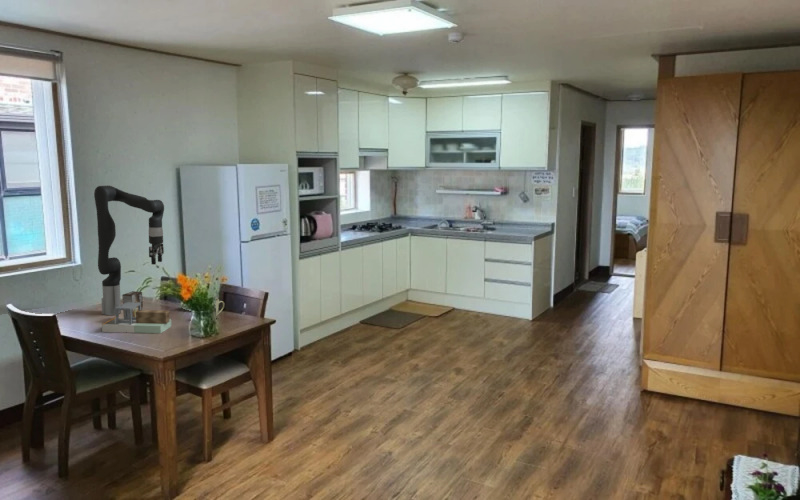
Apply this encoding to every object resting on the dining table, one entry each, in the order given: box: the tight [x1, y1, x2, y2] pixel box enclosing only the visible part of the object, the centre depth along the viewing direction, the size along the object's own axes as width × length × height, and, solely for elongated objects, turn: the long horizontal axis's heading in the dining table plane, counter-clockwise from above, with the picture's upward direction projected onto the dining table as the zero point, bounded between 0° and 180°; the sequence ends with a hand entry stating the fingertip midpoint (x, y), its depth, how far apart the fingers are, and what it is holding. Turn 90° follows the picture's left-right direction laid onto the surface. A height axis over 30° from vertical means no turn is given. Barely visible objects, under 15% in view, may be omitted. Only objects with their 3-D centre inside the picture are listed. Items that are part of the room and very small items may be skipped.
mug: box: [215, 297, 225, 317], centre depth 334 cm, size 11×10×12 cm
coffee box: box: [121, 291, 144, 318], centre depth 328 cm, size 9×6×16 cm
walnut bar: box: [136, 309, 170, 324], centre depth 312 cm, size 16×4×6 cm, turn 89°
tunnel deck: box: [101, 302, 172, 334], centre depth 312 cm, size 31×14×13 cm, turn 90°
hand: (156, 263), depth 332 cm, fingers open, 8 cm apart
